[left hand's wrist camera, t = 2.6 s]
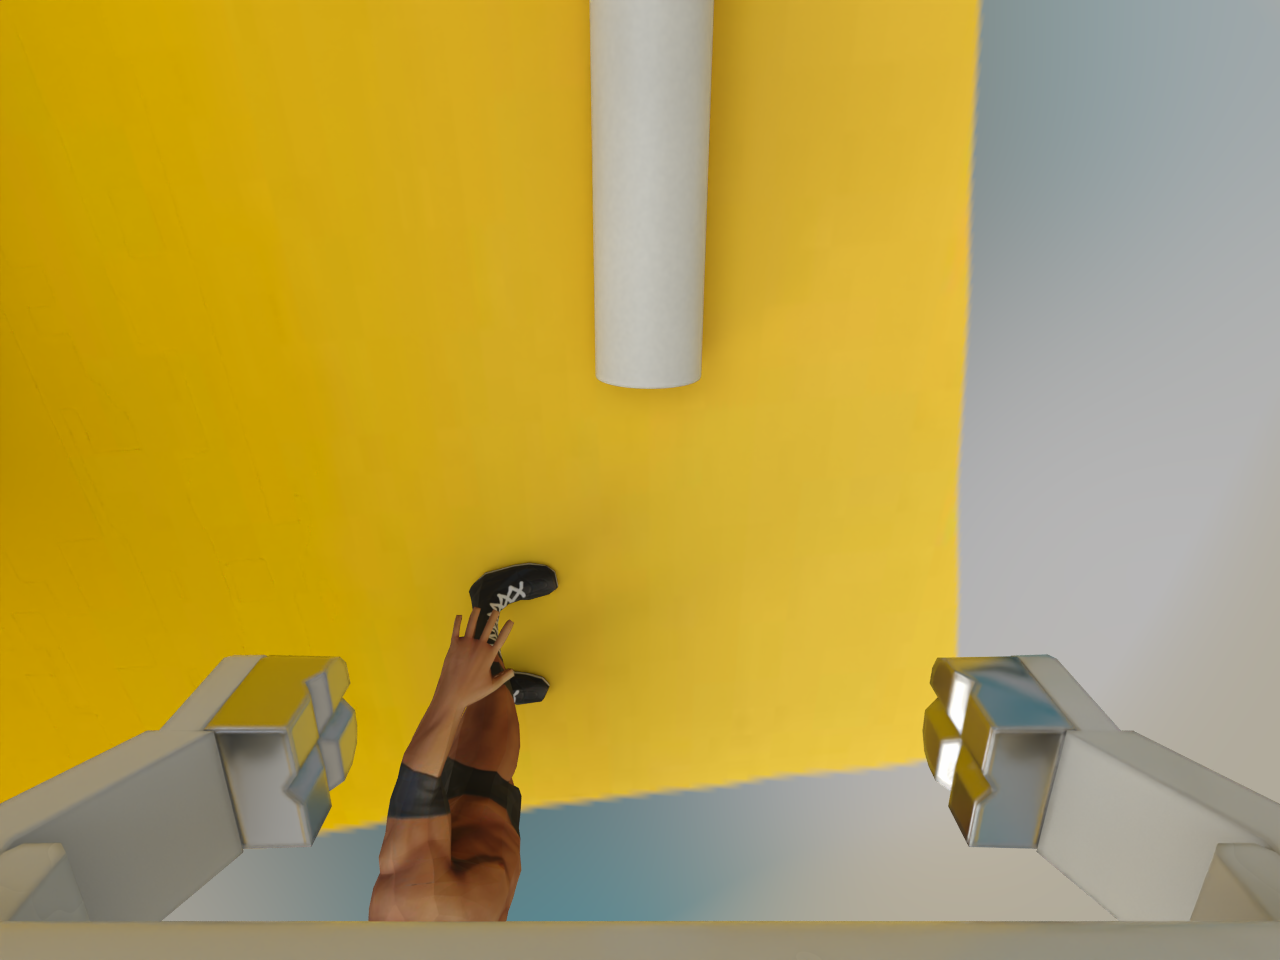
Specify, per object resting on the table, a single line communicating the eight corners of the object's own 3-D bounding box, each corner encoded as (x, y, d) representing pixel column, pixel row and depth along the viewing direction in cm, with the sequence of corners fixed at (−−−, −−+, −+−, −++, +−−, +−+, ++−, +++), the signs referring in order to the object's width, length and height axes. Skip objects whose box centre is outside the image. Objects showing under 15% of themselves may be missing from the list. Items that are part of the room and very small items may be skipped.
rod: (696, 365, 49) (705, 389, 43) (597, 364, 48) (593, 389, 43) (712, -156, 39) (728, -218, 33) (589, -158, 39) (583, -220, 33)
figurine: (546, 768, 60) (474, 1281, 32) (465, 762, 59) (319, 1274, 31) (571, 481, 51) (503, 835, 23) (477, 472, 51) (291, 819, 23)
